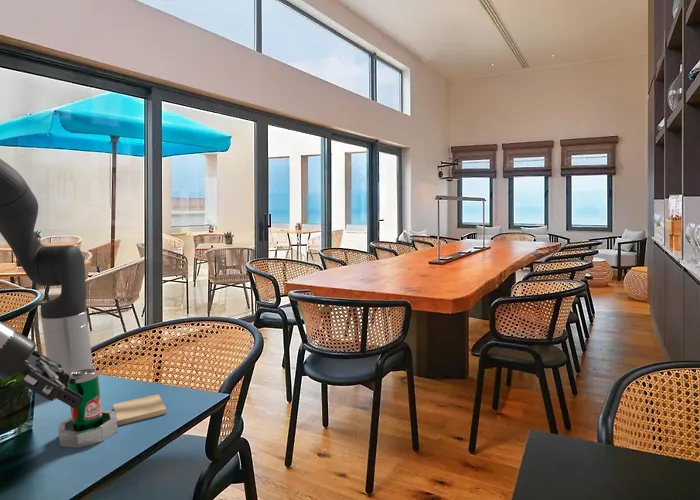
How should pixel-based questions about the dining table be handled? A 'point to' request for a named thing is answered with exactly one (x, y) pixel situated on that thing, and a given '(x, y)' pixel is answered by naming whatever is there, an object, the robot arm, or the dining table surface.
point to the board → (139, 409)
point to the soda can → (86, 400)
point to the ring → (87, 432)
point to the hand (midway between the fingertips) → (79, 395)
